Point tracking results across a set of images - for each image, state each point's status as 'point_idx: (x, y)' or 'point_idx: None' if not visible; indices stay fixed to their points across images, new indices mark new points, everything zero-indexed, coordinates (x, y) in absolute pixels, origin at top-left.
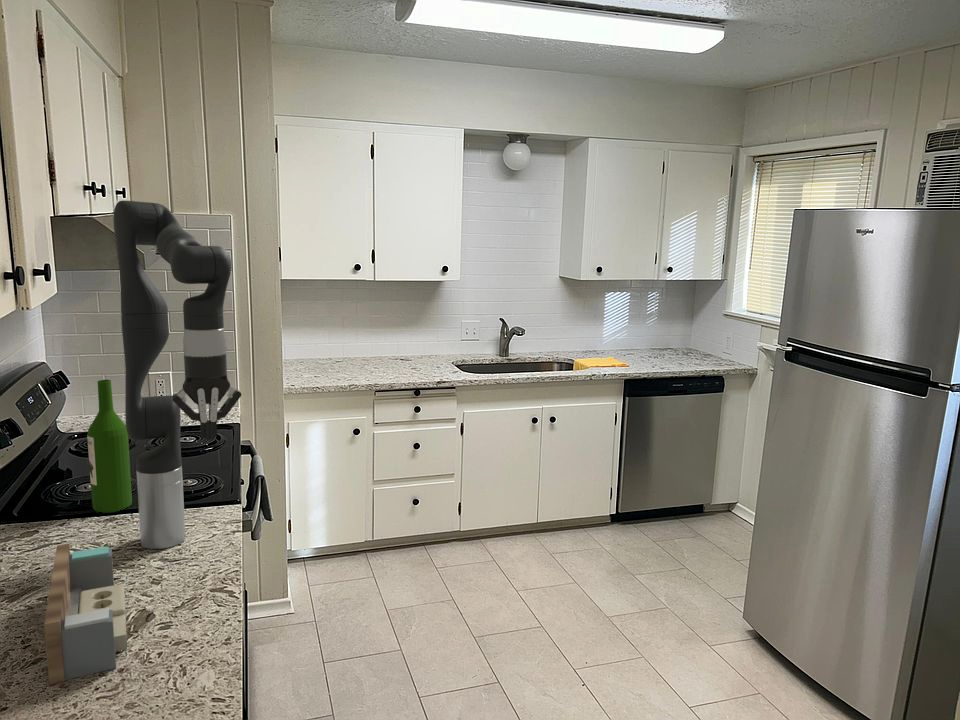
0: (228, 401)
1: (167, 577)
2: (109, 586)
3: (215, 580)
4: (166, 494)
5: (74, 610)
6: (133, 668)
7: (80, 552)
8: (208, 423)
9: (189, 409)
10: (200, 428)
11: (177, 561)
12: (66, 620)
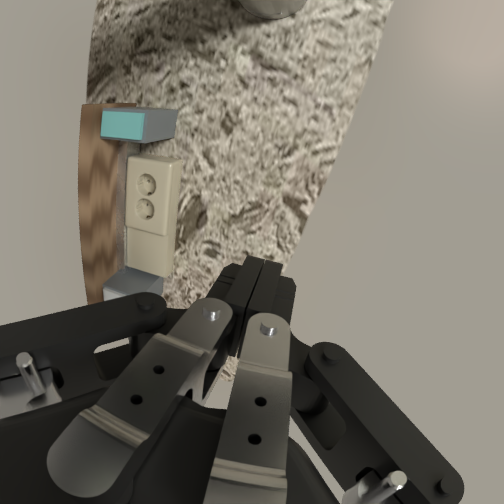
0: (342, 472)
1: (244, 120)
2: (155, 164)
3: (300, 173)
4: None
5: (121, 205)
6: (175, 301)
7: (109, 118)
8: (233, 355)
9: (105, 385)
10: (214, 283)
11: (272, 73)
12: (104, 297)
